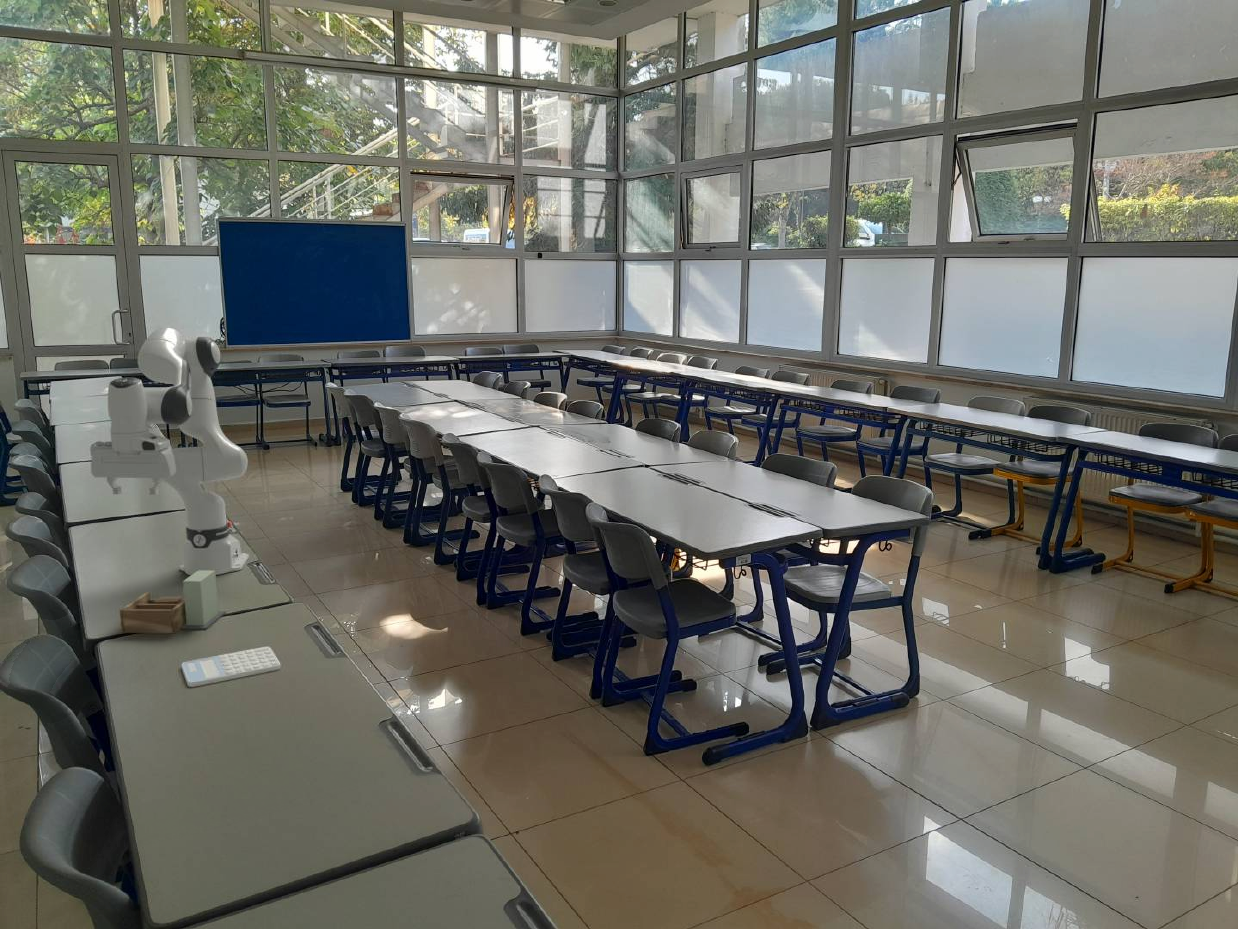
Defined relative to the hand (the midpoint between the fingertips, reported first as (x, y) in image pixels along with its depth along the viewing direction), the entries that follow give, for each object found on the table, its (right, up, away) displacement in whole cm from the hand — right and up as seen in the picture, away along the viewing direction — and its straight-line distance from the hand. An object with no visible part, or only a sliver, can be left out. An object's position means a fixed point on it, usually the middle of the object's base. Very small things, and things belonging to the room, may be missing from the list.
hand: (135, 494), depth 237 cm
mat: (+15, -34, +5) cm, 37 cm away
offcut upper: (+5, -31, +7) cm, 32 cm away
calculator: (+35, -41, -24) cm, 58 cm away
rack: (+5, -34, +3) cm, 35 cm away
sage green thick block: (+15, -33, +5) cm, 37 cm away
